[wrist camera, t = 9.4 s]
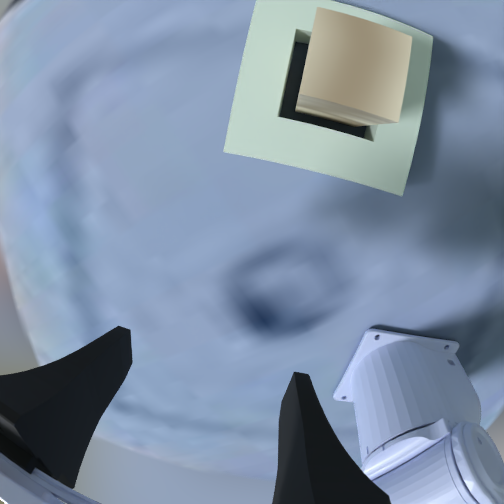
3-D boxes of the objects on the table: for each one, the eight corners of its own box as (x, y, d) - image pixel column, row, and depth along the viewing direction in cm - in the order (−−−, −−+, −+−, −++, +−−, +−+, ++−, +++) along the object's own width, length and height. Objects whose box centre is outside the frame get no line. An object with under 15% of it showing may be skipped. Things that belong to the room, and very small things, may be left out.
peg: (364, 73, 15) (412, 36, 8) (353, 126, 16) (398, 122, 9) (306, 57, 15) (317, 6, 8) (294, 111, 16) (299, 93, 9)
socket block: (417, 46, 14) (433, 36, 11) (388, 188, 17) (402, 196, 15) (263, 4, 14) (259, -13, 12) (232, 149, 18) (223, 152, 15)
